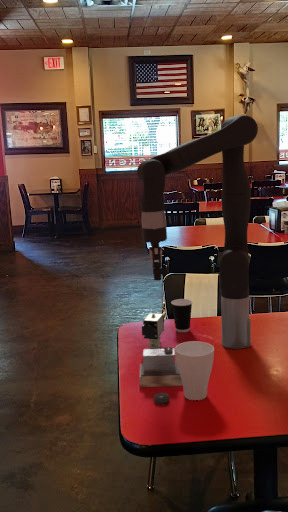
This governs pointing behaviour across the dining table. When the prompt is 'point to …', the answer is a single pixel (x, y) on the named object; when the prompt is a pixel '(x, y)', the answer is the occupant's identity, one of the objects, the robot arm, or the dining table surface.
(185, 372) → the cup
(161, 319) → the pneumatic valve
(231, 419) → the dining table surface
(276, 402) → the dining table surface
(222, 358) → the dining table surface
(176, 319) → the dixie cup
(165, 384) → the stand
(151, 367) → the block
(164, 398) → the black cap
